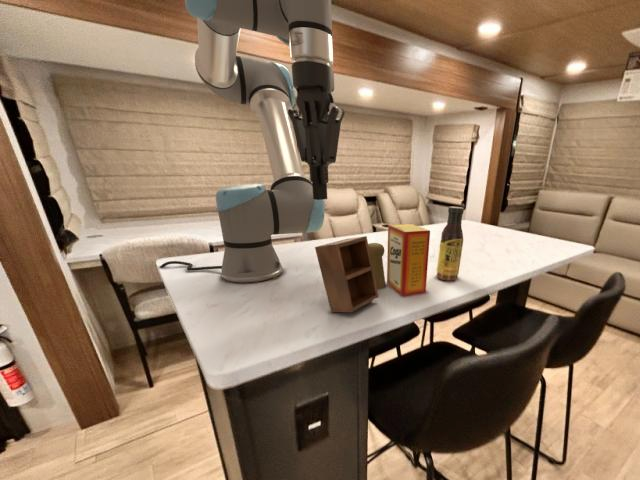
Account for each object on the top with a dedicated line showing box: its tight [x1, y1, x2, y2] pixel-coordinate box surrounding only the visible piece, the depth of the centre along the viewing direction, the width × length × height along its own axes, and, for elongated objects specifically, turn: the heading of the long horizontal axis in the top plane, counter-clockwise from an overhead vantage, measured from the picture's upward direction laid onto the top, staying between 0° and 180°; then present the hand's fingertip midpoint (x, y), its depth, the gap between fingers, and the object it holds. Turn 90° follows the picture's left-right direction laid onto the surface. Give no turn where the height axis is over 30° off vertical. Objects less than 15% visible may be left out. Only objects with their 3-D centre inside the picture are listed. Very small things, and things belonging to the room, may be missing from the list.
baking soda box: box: [386, 223, 431, 297], centre depth 78 cm, size 10×6×16 cm
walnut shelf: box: [314, 235, 380, 313], centre depth 67 cm, size 14×10×6 cm
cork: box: [368, 242, 386, 290], centre depth 80 cm, size 6×6×11 cm
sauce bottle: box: [436, 206, 465, 282], centre depth 85 cm, size 6×6×20 cm
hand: (320, 199), depth 66 cm, fingers closed
